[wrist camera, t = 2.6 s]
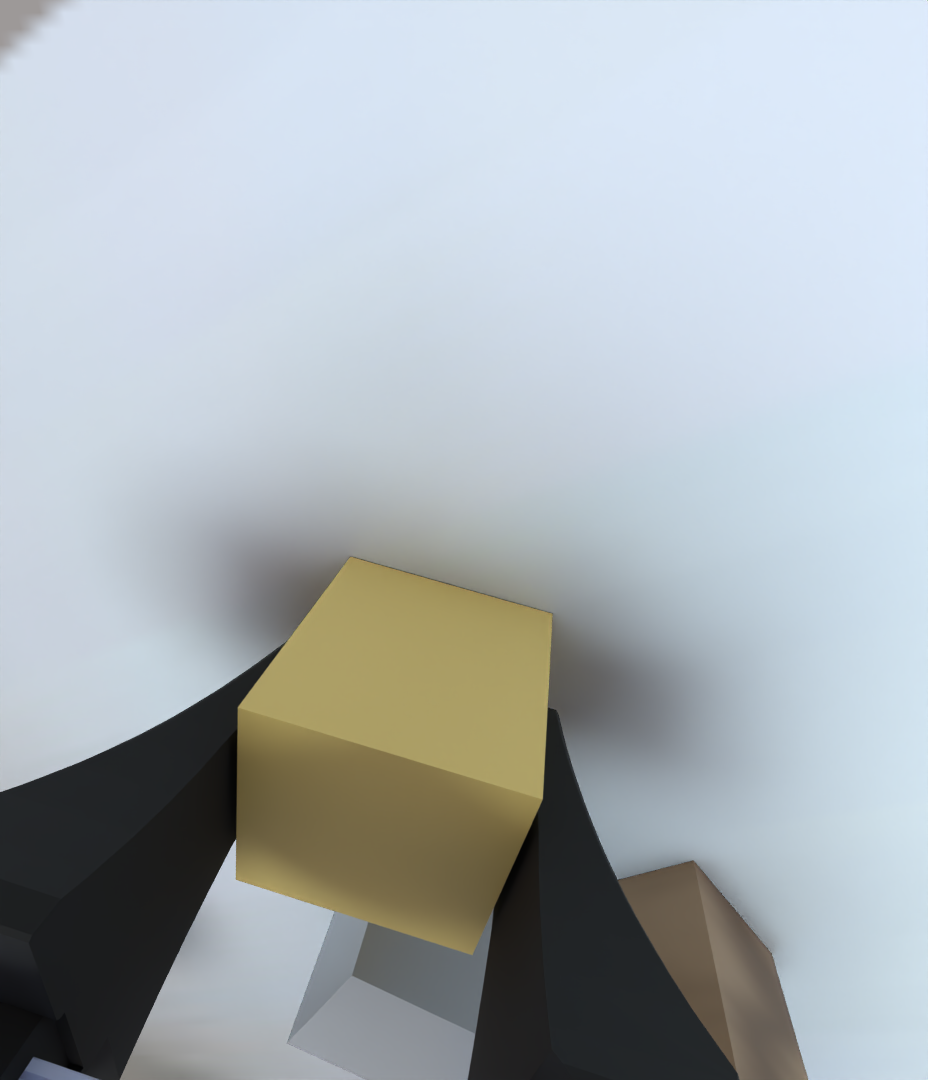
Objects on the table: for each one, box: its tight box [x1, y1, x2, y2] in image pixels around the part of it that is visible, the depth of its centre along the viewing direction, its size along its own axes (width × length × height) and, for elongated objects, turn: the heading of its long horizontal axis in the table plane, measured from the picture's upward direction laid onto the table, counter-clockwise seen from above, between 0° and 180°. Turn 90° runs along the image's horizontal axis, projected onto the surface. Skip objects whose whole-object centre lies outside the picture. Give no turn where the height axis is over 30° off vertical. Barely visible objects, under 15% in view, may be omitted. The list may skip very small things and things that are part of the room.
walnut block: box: [618, 860, 808, 1080], centre depth 15 cm, size 5×5×5 cm
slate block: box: [287, 908, 494, 1080], centre depth 16 cm, size 5×5×5 cm
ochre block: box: [236, 557, 553, 955], centre depth 12 cm, size 5×5×5 cm
